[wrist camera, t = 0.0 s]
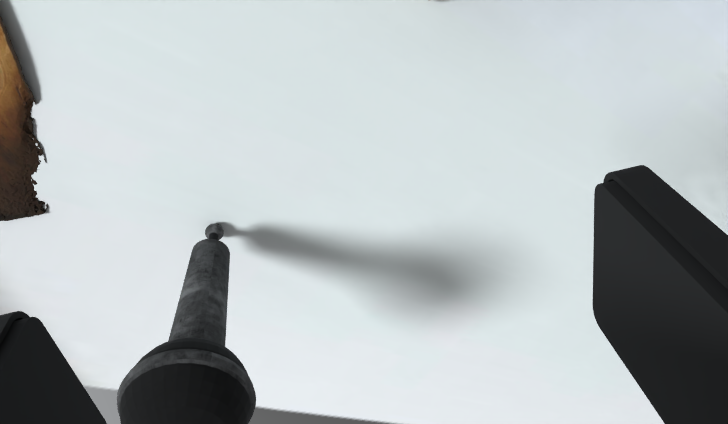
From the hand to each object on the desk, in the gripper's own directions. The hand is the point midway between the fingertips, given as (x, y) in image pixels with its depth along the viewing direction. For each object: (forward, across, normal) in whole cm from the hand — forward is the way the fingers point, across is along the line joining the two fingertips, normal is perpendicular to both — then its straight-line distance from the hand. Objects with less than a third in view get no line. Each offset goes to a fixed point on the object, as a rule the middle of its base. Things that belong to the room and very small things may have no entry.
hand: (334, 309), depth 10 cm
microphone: (+31, +10, +16) cm, 37 cm away
